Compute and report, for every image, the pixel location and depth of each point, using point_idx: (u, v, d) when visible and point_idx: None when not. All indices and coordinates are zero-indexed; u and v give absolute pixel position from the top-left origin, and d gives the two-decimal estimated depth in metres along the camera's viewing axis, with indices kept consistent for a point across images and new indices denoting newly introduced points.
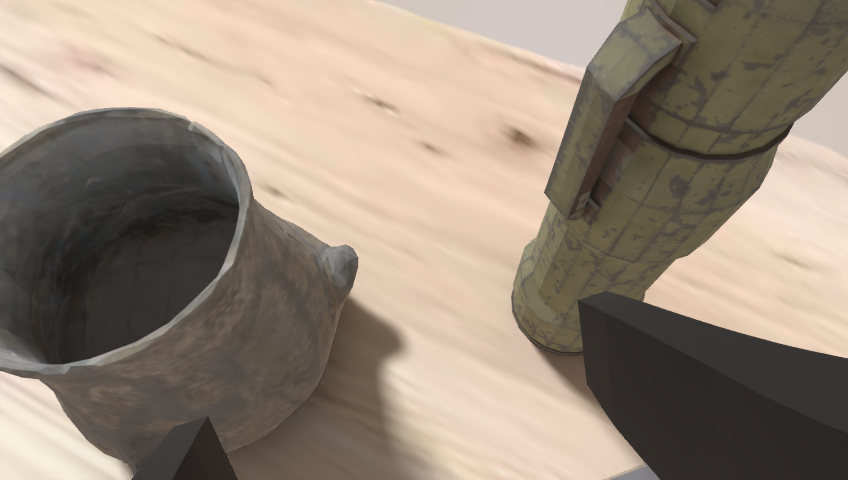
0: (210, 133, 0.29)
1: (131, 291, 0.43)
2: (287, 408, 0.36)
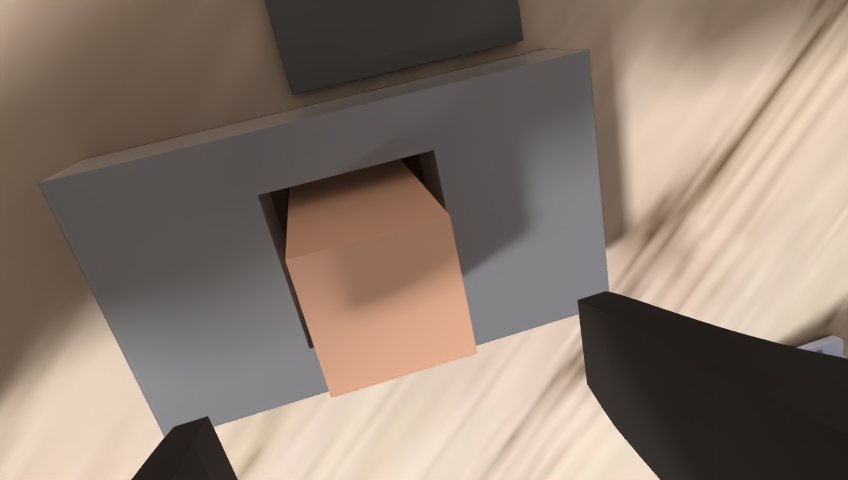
0: None
1: None
2: None
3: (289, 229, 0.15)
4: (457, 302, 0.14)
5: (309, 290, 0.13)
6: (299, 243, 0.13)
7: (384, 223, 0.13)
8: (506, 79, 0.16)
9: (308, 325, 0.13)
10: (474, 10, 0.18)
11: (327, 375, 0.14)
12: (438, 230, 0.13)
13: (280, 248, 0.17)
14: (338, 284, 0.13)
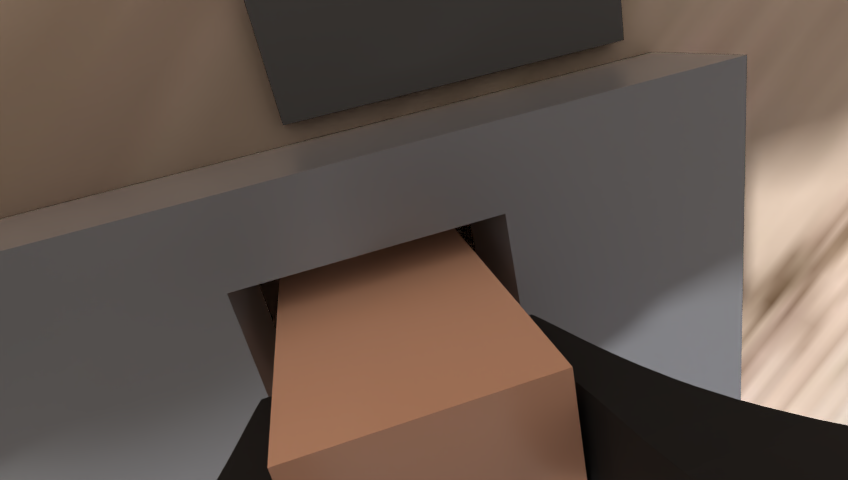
0: None
1: None
2: None
3: (278, 366, 0.09)
4: None
5: None
6: (294, 413, 0.07)
7: (447, 372, 0.07)
8: (621, 103, 0.10)
9: None
10: None
11: None
12: (551, 392, 0.07)
13: (267, 358, 0.12)
14: None
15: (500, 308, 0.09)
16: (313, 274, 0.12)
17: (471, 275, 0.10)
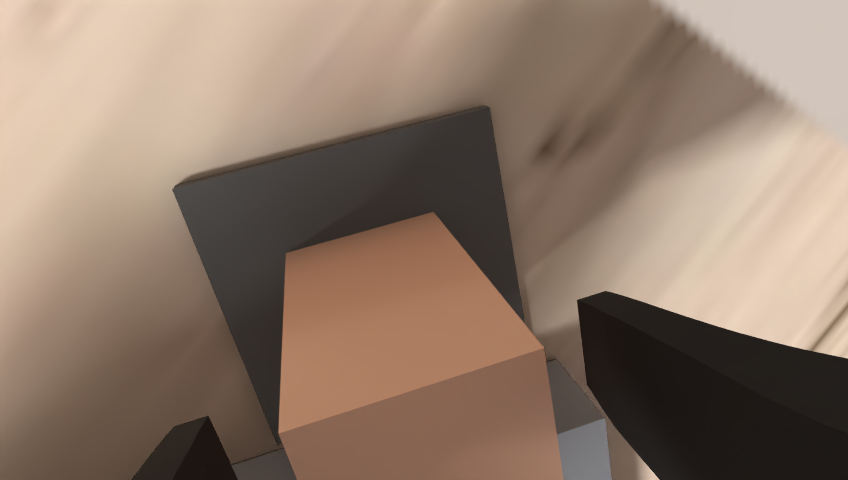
0: None
1: None
2: None
3: (285, 349, 0.10)
4: (547, 470, 0.09)
5: (318, 473, 0.08)
6: (301, 389, 0.08)
7: (435, 354, 0.08)
8: None
9: None
10: None
11: None
12: (526, 370, 0.08)
13: None
14: (364, 461, 0.08)
15: (484, 298, 0.10)
16: (316, 269, 0.13)
17: (460, 270, 0.11)
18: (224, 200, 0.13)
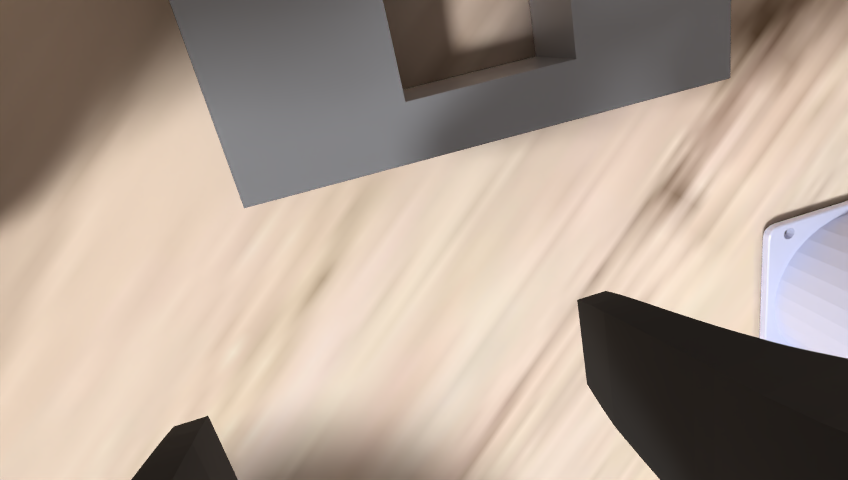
0: None
1: None
2: None
3: None
4: None
5: None
6: None
7: None
8: None
9: None
10: None
11: None
12: None
13: None
14: None
15: None
16: None
17: None
18: None
